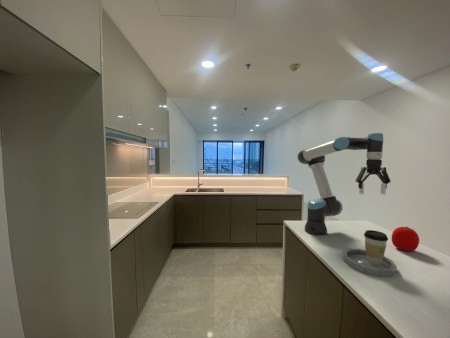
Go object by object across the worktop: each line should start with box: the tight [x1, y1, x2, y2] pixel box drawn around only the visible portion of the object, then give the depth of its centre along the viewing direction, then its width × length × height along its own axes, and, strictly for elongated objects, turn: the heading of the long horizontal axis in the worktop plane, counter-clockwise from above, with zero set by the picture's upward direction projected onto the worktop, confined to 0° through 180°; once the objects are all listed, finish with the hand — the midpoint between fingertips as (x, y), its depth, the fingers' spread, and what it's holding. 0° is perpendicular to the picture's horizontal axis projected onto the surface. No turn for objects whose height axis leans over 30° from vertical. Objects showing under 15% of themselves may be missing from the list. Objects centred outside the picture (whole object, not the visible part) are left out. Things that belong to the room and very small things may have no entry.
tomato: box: [390, 226, 420, 252], centre depth 118 cm, size 13×11×14 cm
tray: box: [342, 248, 398, 278], centre depth 102 cm, size 21×21×3 cm
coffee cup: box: [363, 229, 389, 265], centre depth 101 cm, size 10×10×15 cm
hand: (372, 193), depth 121 cm, fingers open, 13 cm apart
